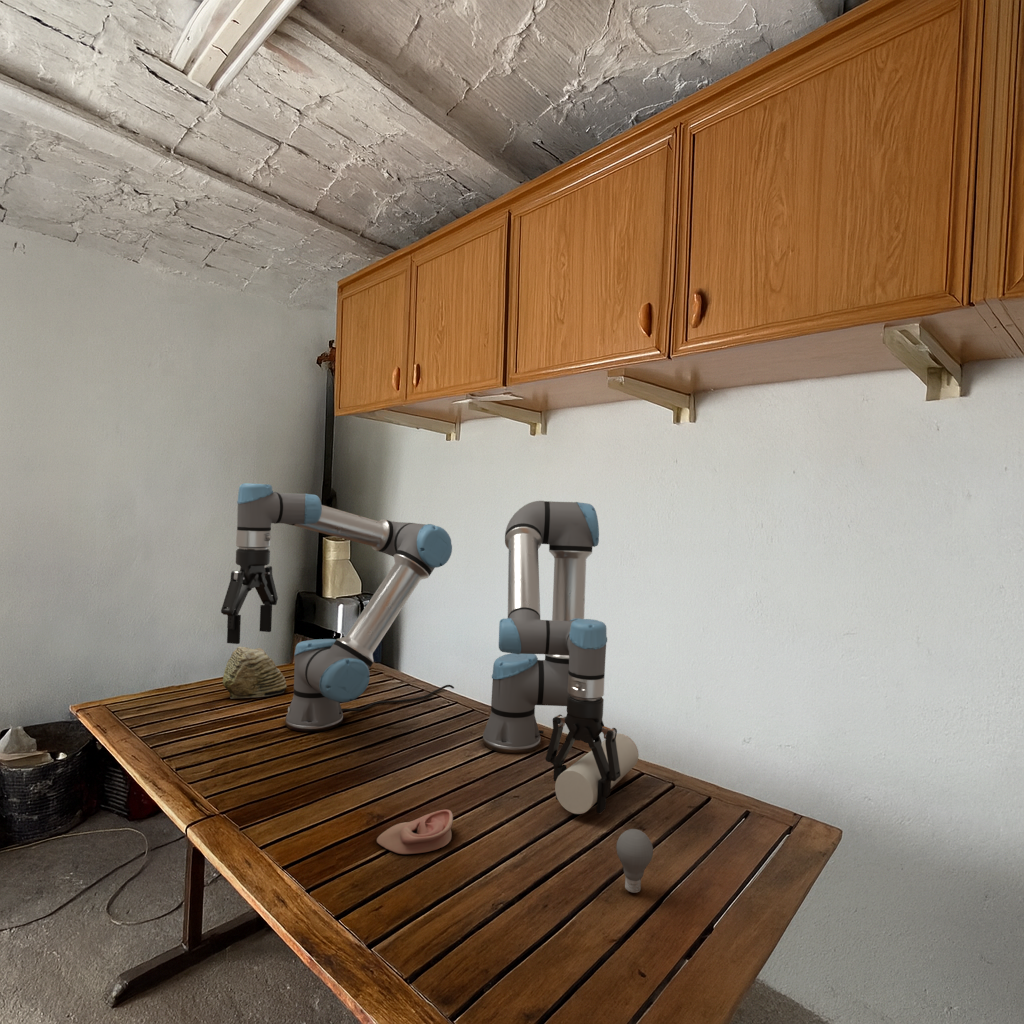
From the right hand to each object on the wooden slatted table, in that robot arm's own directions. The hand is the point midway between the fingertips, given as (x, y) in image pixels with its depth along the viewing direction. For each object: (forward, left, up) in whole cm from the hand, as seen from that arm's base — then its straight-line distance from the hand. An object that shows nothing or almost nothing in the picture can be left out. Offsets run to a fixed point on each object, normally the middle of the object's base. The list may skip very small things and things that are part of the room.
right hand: (580, 803), depth 131 cm
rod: (-8, -5, -1) cm, 10 cm away
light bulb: (+6, +26, -2) cm, 27 cm away
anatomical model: (+34, -4, -2) cm, 35 cm away
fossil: (+54, -103, -2) cm, 116 cm away
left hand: (+60, -54, +27) cm, 85 cm away
